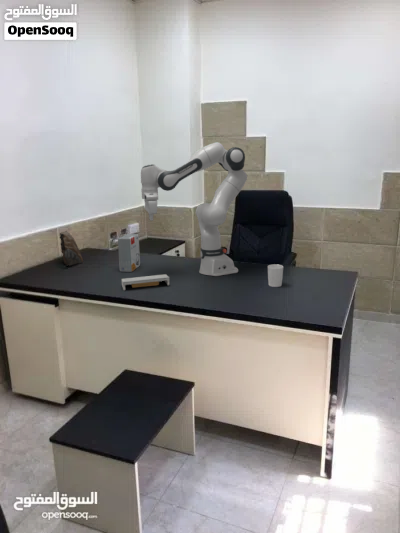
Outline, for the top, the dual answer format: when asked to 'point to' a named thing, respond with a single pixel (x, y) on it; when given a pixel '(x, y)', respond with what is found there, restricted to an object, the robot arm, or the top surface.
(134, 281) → the panel
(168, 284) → the duct
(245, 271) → the top surface
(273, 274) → the white cup
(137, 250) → the hard drive box
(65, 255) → the owl
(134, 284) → the wooden block
